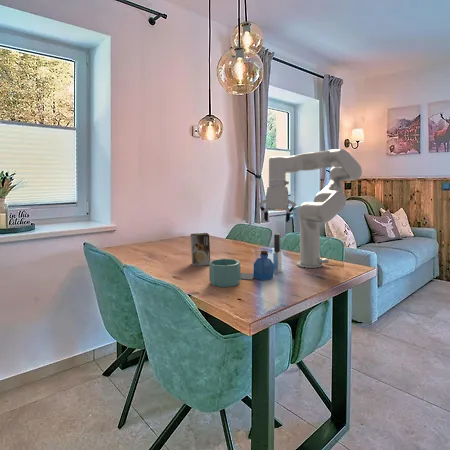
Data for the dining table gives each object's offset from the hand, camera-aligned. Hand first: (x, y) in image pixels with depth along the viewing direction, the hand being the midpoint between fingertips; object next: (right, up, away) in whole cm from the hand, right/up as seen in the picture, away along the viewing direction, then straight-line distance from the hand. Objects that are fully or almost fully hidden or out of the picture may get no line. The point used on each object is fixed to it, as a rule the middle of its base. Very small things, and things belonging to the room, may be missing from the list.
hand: (276, 221), depth 161 cm
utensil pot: (-24, -26, -12) cm, 37 cm away
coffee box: (-36, -22, +21) cm, 48 cm away
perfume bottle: (-7, -25, -6) cm, 27 cm away
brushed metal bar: (+1, -24, +3) cm, 24 cm away
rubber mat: (-16, -25, -3) cm, 30 cm away
